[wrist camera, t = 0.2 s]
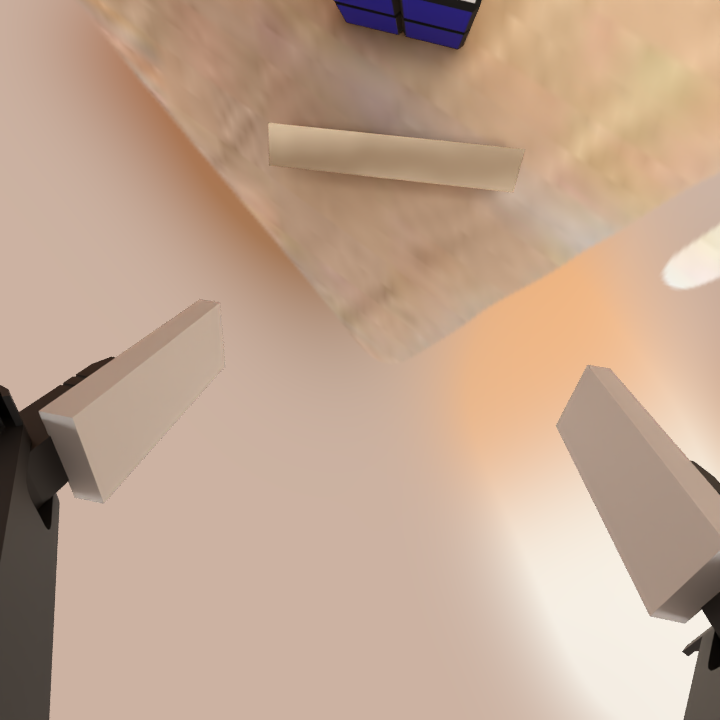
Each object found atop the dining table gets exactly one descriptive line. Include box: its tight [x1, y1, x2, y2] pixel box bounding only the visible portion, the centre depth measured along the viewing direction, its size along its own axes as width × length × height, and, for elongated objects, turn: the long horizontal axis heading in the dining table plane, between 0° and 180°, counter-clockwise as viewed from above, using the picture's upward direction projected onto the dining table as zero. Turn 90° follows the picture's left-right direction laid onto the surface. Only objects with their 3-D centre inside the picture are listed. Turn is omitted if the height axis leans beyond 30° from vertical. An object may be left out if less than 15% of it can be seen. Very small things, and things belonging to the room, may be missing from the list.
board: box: [268, 123, 525, 192], centre depth 32 cm, size 3×20×6 cm, turn 85°
